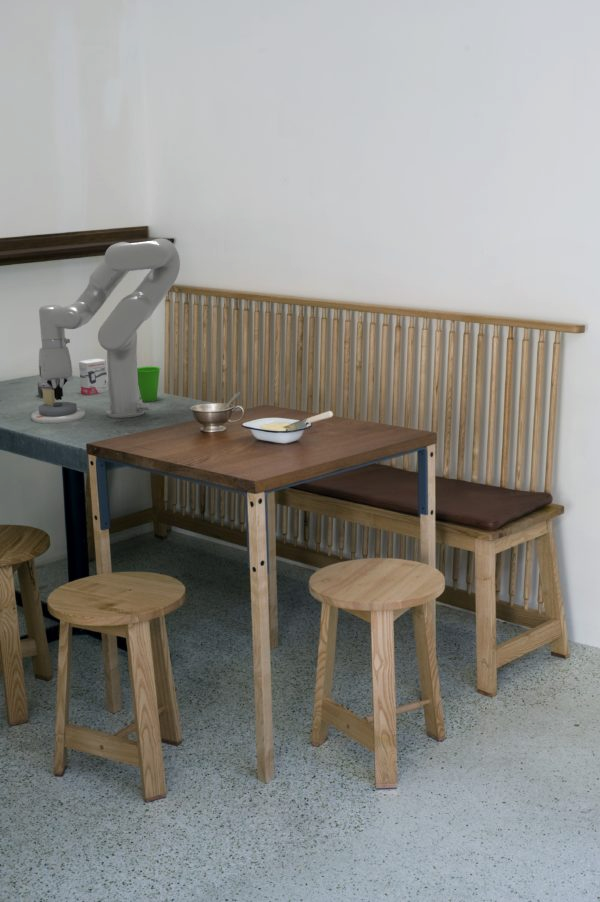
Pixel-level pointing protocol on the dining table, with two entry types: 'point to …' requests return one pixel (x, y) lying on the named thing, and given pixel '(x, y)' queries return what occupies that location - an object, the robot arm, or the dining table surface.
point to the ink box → (93, 376)
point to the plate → (58, 417)
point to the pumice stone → (44, 386)
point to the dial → (55, 405)
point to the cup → (148, 382)
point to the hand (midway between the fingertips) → (58, 399)
